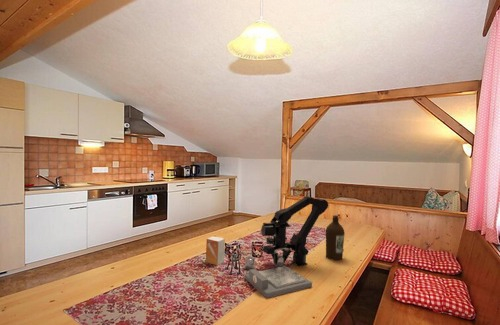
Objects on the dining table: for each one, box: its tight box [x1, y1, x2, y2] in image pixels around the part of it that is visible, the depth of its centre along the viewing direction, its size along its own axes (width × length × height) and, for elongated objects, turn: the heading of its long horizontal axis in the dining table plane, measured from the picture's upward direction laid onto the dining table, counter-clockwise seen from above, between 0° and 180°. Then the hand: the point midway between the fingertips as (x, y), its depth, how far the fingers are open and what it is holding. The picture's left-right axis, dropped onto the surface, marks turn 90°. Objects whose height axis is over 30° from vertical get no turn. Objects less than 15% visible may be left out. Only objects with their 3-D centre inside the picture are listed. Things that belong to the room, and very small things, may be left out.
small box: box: [205, 235, 226, 266], centre depth 147 cm, size 8×6×13 cm
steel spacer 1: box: [244, 256, 256, 271], centre depth 141 cm, size 5×5×5 cm
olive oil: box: [325, 214, 346, 261], centre depth 160 cm, size 11×11×25 cm
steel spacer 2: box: [274, 254, 285, 268], centre depth 145 cm, size 5×5×5 cm
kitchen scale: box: [244, 265, 313, 299], centre depth 125 cm, size 24×20×6 cm
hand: (279, 263), depth 145 cm, fingers closed on steel spacer 2, 5 cm apart
